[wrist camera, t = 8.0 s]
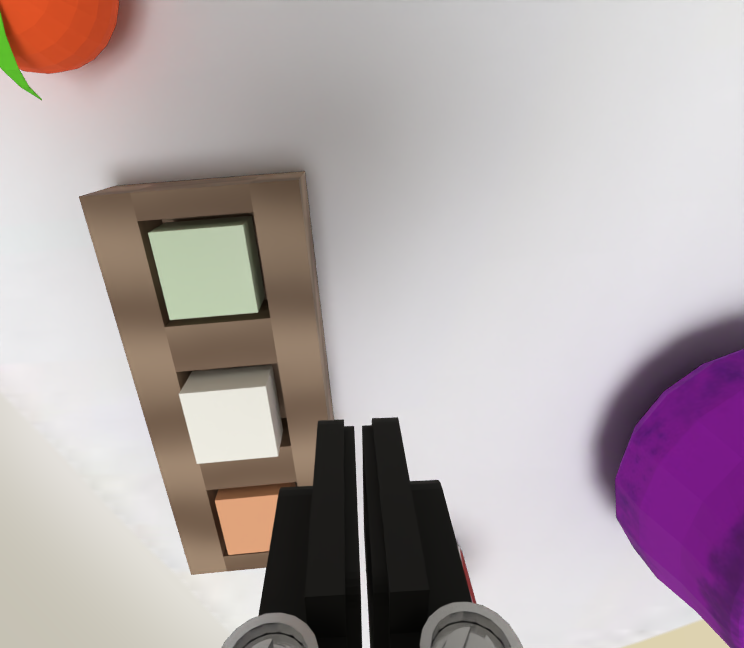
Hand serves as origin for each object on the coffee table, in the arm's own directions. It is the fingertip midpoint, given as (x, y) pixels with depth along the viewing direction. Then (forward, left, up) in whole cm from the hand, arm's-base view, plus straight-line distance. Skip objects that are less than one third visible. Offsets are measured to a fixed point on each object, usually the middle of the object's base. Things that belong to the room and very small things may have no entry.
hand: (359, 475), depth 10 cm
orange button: (+15, -7, -17) cm, 24 cm away
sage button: (-1, -7, -17) cm, 18 cm away
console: (+7, -7, -19) cm, 22 cm away
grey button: (+7, -7, -16) cm, 19 cm away
